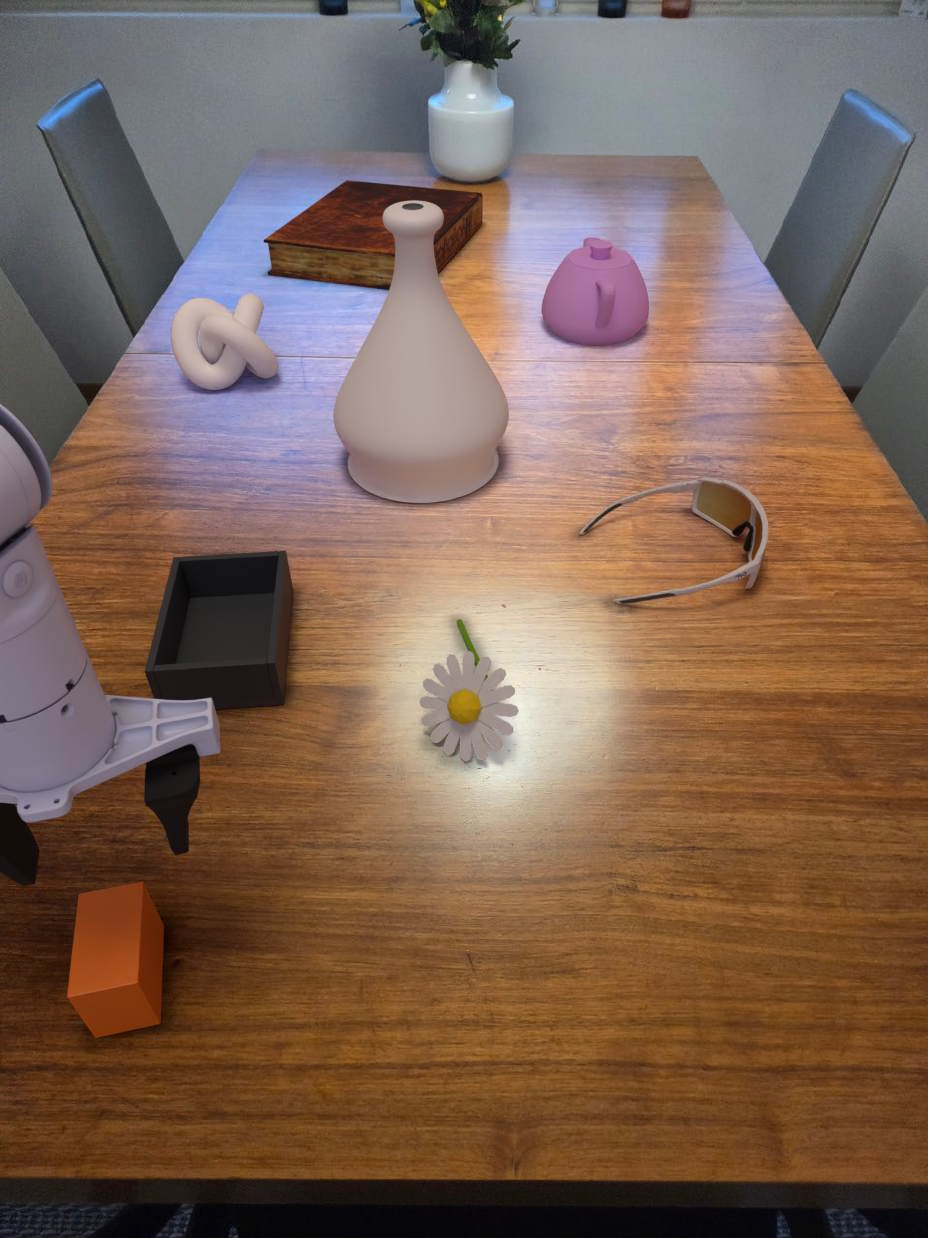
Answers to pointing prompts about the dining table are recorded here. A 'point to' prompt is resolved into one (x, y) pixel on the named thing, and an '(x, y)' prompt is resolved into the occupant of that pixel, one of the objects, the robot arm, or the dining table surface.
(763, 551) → the sunglasses
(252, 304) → the beige knot sculpture
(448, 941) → the dining table surface
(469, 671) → the decorative flower
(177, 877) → the dining table surface
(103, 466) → the dining table surface
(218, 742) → the robot arm
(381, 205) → the book
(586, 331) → the teapot
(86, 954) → the block
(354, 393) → the vase
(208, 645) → the open box
